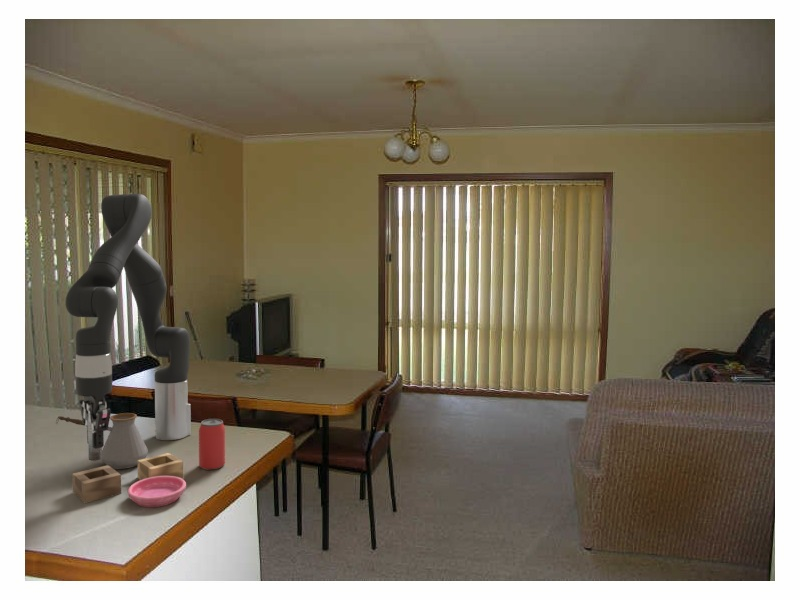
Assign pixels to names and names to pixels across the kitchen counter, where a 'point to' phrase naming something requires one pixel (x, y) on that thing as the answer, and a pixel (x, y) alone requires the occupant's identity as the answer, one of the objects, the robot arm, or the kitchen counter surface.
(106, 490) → the walnut block
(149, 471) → the oak block
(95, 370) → the robot arm
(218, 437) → the beer can
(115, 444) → the coffee pot
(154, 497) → the saucer
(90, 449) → the pin
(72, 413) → the kitchen counter surface
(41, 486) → the kitchen counter surface
